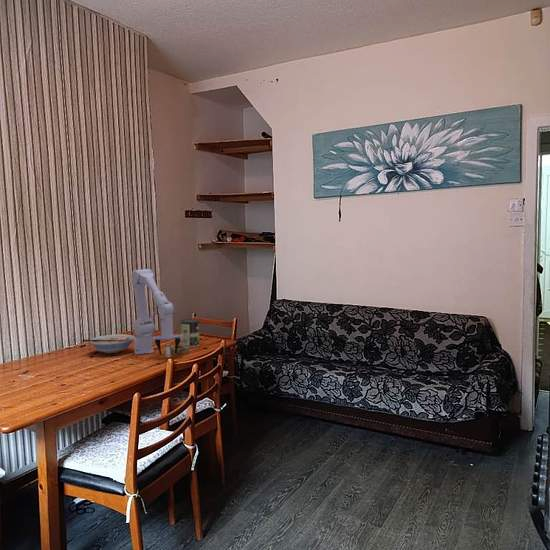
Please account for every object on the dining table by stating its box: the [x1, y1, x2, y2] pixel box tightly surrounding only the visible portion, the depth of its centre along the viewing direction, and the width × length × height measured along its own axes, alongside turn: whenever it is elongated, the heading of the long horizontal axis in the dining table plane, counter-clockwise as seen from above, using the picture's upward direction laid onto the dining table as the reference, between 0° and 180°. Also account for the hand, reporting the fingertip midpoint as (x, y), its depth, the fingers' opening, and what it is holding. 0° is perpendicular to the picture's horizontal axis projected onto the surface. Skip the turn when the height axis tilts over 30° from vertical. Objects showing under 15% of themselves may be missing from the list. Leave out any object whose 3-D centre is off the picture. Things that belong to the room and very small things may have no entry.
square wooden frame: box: [170, 344, 190, 356], centre depth 257 cm, size 8×8×3 cm
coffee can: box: [180, 318, 200, 348], centre depth 273 cm, size 10×10×14 cm
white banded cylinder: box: [164, 342, 172, 359], centre depth 248 cm, size 2×2×7 cm
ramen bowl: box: [81, 333, 135, 355], centre depth 262 cm, size 25×23×8 cm
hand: (168, 353), depth 248 cm, fingers open, 7 cm apart
